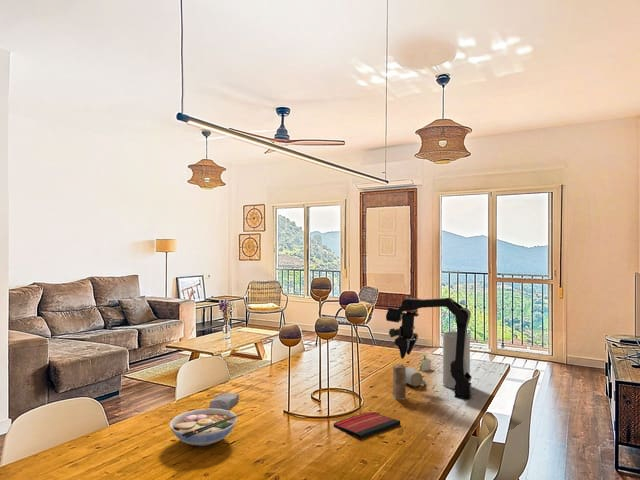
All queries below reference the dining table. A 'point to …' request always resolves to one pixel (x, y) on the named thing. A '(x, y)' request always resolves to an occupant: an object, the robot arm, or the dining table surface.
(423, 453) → the dining table surface
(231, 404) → the stone block
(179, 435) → the ramen bowl
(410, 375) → the ceramic mug
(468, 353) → the cylinder vase
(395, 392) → the walnut block
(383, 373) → the dining table surface
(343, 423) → the binder
